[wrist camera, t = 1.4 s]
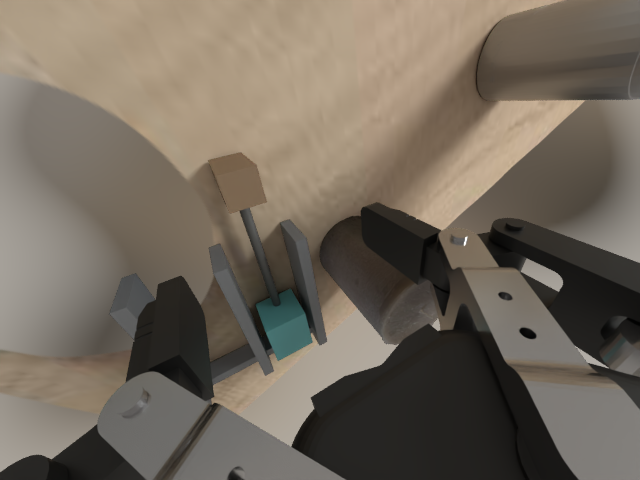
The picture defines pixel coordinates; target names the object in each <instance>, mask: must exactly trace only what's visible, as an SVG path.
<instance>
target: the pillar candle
mask: <svg viewBox="0 0 640 480" xmlns="http://www.w3.org/2000/svg"><path fill="white" fill-rule="evenodd" d="M320 260H321V263H322V266H323V267H324V269H325V270H326V271H327V272H328V273H329V275H330V276H331V277H332V278H333V279H334V281H335V282H336V283H337V284H338V286H339V287H340V288H341V289H342V290H343V292H344V293H345V294H346V295H347V296H348V298H349V299H350V300H351V301H352V302H353V304H354V305H355V306H356V307H357V308H358V310H359V311H360V312H361V313H362V314H363V316H364V317H365V318H366V319H367V320H368V322H369V323H370V324H371V325H372V326H373V327H374V329H375V330H376V331H377V332H378V333H379V335H380V336H381V337H382V340H383V341H384V343H386V344H394V345H397V344H400V343H401V341H402V340H403V339H404V338H406V337H407V336H409V335H411V334H412V333H414V332H415V331H417V330H419V329H420V328H422V327H423V326H425V325H426V324H428V323H429V324H430V325H431V326H432V325H433V323H434V322H435V321H436V320H437V318H438V315H437V311H436V308H435V304H434V301H433V297H432V293H431V290H430V284H431V282H430V281H429V280H427V281H425V282H423V283H421V284H419V285H417V284H416V283H414V282H413V281H412V280H410V279H409V278H408V277H406V276H405V275H404V274H402V273H401V272H400V271H398V270H397V269H396V268H395V267H393V266H392V265H391V264H389V263H388V262H387V261H385V260H384V259H383V258H381V257H380V256H379V255H377V254H376V253H375V252H373V251H372V250H371V249H370V248H368V247H367V246H366V245H365V243H364V241H363V238H362V227H361V217H360V216H352V217H349V218H347V219H345V220H342V221H341V222H339V223H338V224H336V225H335V226H334V227H333V228H332V229H331V230H330V231H329V232H328V234H327V236H326V237H325V238H324V240H323V242H322V245H321V249H320Z"/></svg>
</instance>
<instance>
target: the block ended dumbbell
mask: <svg viewBox="0 0 640 480" xmlns="http://www.w3.org/2000/svg"><path fill="white" fill-rule="evenodd" d="M208 162H209V164H210V167H211V169H212V172H213V174H214V177H215V180H216V182H217V185H218V187H219V190H220V192H221V195H222V197H223V199H224V202H225V204H226V206H227V208H228V211H229V213H230V214H231V213H234V212H237V211H240V214H241V217H242V219H243V222H244V225H245V228H246V231H247V233H248V236H249V239H250V242H251V245H252V247H253V250H254V253H255V256H256V258H257V261H258V264H259V267H260V270H261V272H262V275H263V278H264V281H265V284H266V286H267V289H268V292H269V295H270V297H271V298H268V299H266V300H264V301H262V302H259V303H257V304H256V307H257V310H258V313H259V315H260V318H261V321H262V323H263V326H264V329H265V332H266V334H267V336H268V339H269V341H270V344H271V346H272V348H273V351H274V353H275V355H276V358H277V360H278V361H279V360H281V359H283V358H285V357H286V356H288V355H290V354H292V353H294V352H296V351H297V350H299V349H301V348H303V347H305V346H307V345H309V344H310V343H312V338H311V334H310V330H309V326H308V322H307V319H306V315H305V312H304V310H303V309H302V307H301V305H300V304H299V302H298V300H297V299H296V297H295V295H294V293H293V292H292V290H291V289H288V290H286V291H284V292H282V293H279V294H278V293H277V290H276V287H275V284H274V281H273V277H272V274H271V271H270V268H269V265H268V262H267V259H266V256H265V253H264V250H263V247H262V244H261V241H260V238H259V235H258V232H257V229H256V226H255V223H254V220H253V217H252V214H251V211H250V207H253V206H256V205H259V204H262V203H266V202H267V201H266V197H265V194H264V190H263V187H262V183H261V180H260V176H259V172H258V169H257V165H256V164H254V163H253V162H252V161H251V160H250V159H248V158H247V157H246V156H245V155H243V154H242V153H236V154H232V155H228V156H224V157H220V158H215V159H211V160H208Z"/></svg>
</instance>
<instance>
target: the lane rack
mask: <svg viewBox="0 0 640 480" xmlns="http://www.w3.org/2000/svg"><path fill="white" fill-rule="evenodd" d="M280 225H281V229H282V233H283V236H284V240H285V244H286V248H287V252H288V256H289V259H290V263H291V267H292V271H293V275H294V278H295V282H296V286H297V290H298V294H299V298H300V301H301V305H302V309H303V310H304V312H305V315H306V319H307V322H308V326H309V330H310V334H311V333H313V335H314V336H315V338H316V340H317V342H318V343H319V345H322V344H324V343H325V342H327V338H326V333H325V328H324V323H323V318H322V313H321V308H320V303H319V298H318V293H317V288H316V283H315V278H314V273H313V268H312V263H311V258H310V253H309V248H308V243H307V238H306V237H305V236H304V235H303V234H302V232H301V231H300V230H299V229H298V228H297V227H296V226H295V225H294V224H293V223H292V222H291V221H290V220H286V221H283V222H280ZM209 252H210V258H211V263H212V268H213V274H214V276H215V278H216V280H217V282H218V284H219V286H220V288H221V290H222V291H223V293H224V295H225V297H226V299H227V301H228V303H229V305H230V307H231V309H232V311H233V313H234V315H235V317H236V319H237V321H238V323H239V325H240V327H241V329H242V331H243V333H244V335H245V337H246V339H247V341H248V343H249V344H247V345H245V346H243V347H241V348H239V349H237V350H235V351H233V352H231V353H229V354H227V355H225V356H223V357H221V358H219V359H217V360H215V361H213V362H211V363H210V366H211V375H212V383H213V385H214V384H216V383H218V382H220V381H222V380H224V379H225V378H227V377H229V376H231V375H233V374H235V373H237V372H239V371H241V370H242V369H244V368H246V367H248V366H250V365H252V364H254V363H256V362H259V364H260V366H261V368H262V370H263V372H264V374H265V376H266V375H268V374H270V373H271V372H273V371H274V370H273V367H272V364H271V361H270V358H269V355H271V354H273V353H274V351H273V348H272V346H271V344H270V341H269V339H268V336H267V335H265V336H263V337H262V336H261V334H260V332H259V330H258V327H257V325H256V323H255V321H254V318H253V316H252V314H251V312H250V309H249V307H248V305H247V303H246V301H245V298H244V296H243V294H242V292H241V289H240V287H239V285H238V283H237V280H236V278H235V276H234V274H233V271H232V269H231V267H230V265H229V263H228V260H227V258H226V256H225V254H224V251H223V249H222V247H221V245H220V244H218V245H215V246H212V247H209ZM154 300H155V298H154V297H153V296H152V294H151V293H150V292H149V290H148V289H147V288H146V286H145V285H144V284H143V282H142V281H141V280H140V278H139V277H138V276H137V274H136V273H135V274H132V275H129V276H127V277H124V278H122V279H121V281H120V285H119V287H118V290H117V293H116V296H115V299H114V302H113V305H112V307H111V310H110V313H109V314H110V315H111V316H112V317H113V319H115V321H116V322H117V323H119V325H120V326H121V327H122V328H123V329H124V330H125V331H126V332H127V333H128V334H129V335H130V336H131V337H132V339H133V340H134V337H135V331H137V330H136V326H137V321H138V316H139V315H140V313H141V312H142V310H143V309H144V307H145V306H146V304H147V303H149V302H152V301H154ZM134 341H135V340H134ZM206 402H207V403H209V404H211V405H212V403H211V399H209V400H207V401H206Z"/></svg>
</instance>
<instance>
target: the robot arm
mask: <svg viewBox="0 0 640 480" xmlns="http://www.w3.org/2000/svg"><path fill="white" fill-rule="evenodd" d="M477 86H478V90H479V93H480V95H481V96H482V98H483V99H485V100H488V101H535V100H631V99H632V100H633V99H640V0H565V1H561V2H557V3H553V4H550V5H545V6H542V7H538V8H534V9H531V10H527V11H523V12H519V13H516V14H512V15H509V16H507V17H505V18H503V19H502V20H501V21H500V22H499V23H498V24H497V25H496V26H495V28H494V29H493V30H492V32H491V33H490V35H489V37H488V39H487V41H486V43H485V45H484V47H483V50H482V53H481V56H480V60H479V64H478V70H477ZM361 227H362V238H363V241H364V243H365V245H366V246H367V247H368V248H370V249H371V250H372V251H373V252H375V253H376V254H377V255H379V256H380V257H381V258H383V259H384V260H385V261H387V262H388V263H389V264H391V265H392V266H393V267H395V268H396V269H397V270H398V271H400V272H401V273H402V274H404V275H405V276H406V277H408V278H409V279H410V280H412V281H413V282H414V283H416V284H417V285H419V284H421V283H423V282H425V281H427V280H429V281H430V282H431V284H430V290H431V293H432V297H433V301H434V304H435V308H436V311H437V315H438V319H439V322H440V331H437V330H436V329H434V328H433V327H432V326H431V325H430V324H429V323H428V324H426V325H425V326H423V327H422V328H420V329H419V330H417V331H415V332H414V333H412V334H411V335H409V336H407V337H406V338H404V339H403V340H402V341H401V343H400V344H399V345H398V346H397V347H396V349H395V350H394V351H393V352H392V353H391V355H390V356H389V357H388V358H387V359H386V361H385V362H384V363H383V364H382V365H380V366H377V367H374V368H371V369H368V370H364V371H361V372H358V373H354V374H351V375H348V376H344V377H343V378H341V379H339V380H338V381H336V382H335V383H333V384H332V385H330V386H328V387H327V388H325V389H324V390H322V391H320V392H319V393H317V394H316V395H314V396H313V397H311V400H312V402H313V406H314V410H313V411H312V412H311V413H310V415H309V416H308V417H307V419H306V420H305V422H304V423H303V424H302V426H301V428H300V429H299V431H298V433H297V435H296V437H295V439H294V441H293V444H292V446H291V447H290V446H289V445H287V444H285V443H284V442H282V441H280V440H279V439H277V438H275V437H274V436H272V435H270V434H269V433H267V432H265V431H263V430H262V429H260V428H259V427H257V426H255V425H254V424H252V423H250V422H248V421H247V420H245V419H243V418H242V417H240V416H239V415H237V414H235V413H234V412H232V411H230V410H229V409H227V408H225V407H224V406H222V405H220V404H217V403H214V404H213V405H211V404H209V403H207V402H206V401H207V400H209V399H211V398H213V397H214V392H213V383H212V375H211V366H210V357H209V349H208V340H207V332H206V323H205V317H204V313H203V310H202V308H201V305H200V304H199V302H198V301H197V299H196V297H195V295H194V294H193V292H192V291H191V289H190V288H189V285H188V284H187V282H186V281H185V279H184V278H183V277H182V276H179V277H176V278H174V279H171V280H168V281H165V282H163V283H160V284H158V289H157V297H156V300H154V301H152V302H149V303H147V304H146V306H145V307H144V309H143V310H142V312H141V313H140V315H139V316H138V321H137V326H136V330H137V331H135V337H134V340H135V342H133V347H132V352H131V357H130V362H129V367H128V373H127V378H126V383H125V384H123V385H122V386H121V387H120V388H119V389H118V390H117V391H116V392H115V393H114V394H113V395H112V396H111V397H110V399H109V400H108V401H107V403H106V404H105V406H104V407H103V409H102V411H101V413H100V416H99V419H98V424H97V425H96V426H94V427H93V428H92V429H91V430H90V431H88V432H87V433H86V434H84V435H83V436H82V437H80V438H79V439H78V440H76V441H75V442H74V443H73V444H71V445H70V446H69V447H67V448H66V449H65V450H63V451H62V452H61V453H60V454H59V455H57V456H56V457H54V458H53V459H49V458H47V457H45V456H42V455H32V456H29V457H26V458H23V459H21V460H19V461H17V462H15V463H14V464H12V465H10V466H9V467H7V468H6V469H5V470H3V471H2V472H0V480H640V263H638V262H635V261H633V260H630V259H627V258H624V257H622V256H619V255H616V254H614V253H611V252H608V251H605V250H603V249H600V248H597V247H595V246H592V245H589V244H586V243H584V242H581V241H578V240H575V239H573V238H570V237H567V236H565V235H562V234H559V233H556V232H554V231H551V230H548V229H546V228H543V227H540V226H537V225H535V224H532V223H529V222H527V221H523V220H520V219H514V218H502V219H498V220H495V221H494V222H493V224H492V227H491V230H490V232H488V233H482V234H475V233H473V232H472V231H469V230H466V229H462V228H448V229H445V230H442V231H441V230H439V229H437V228H435V227H433V226H431V225H429V224H427V223H425V222H423V221H421V220H419V219H417V220H416V218H414V217H412V216H409V215H408V214H406V213H404V212H402V211H400V210H395V209H390V208H388V207H386V206H384V205H382V204H380V203H377V202H376V203H373V204H371V205H368V206H365V207H363V208H362V209H361ZM526 258H528V259H530V260H532V261H534V262H536V263H538V264H540V265H543V266H545V267H546V268H549V269H551V270H553V271H555V272H556V273H558V274H559V275H560V276H561V277H562V279H563V286H562V288H561V289H560V291H559V292H558V291H556V290H554V289H552V288H550V287H548V286H546V285H544V284H542V283H541V282H539V281H537V280H535V279H533V278H531V277H529V276H527V275H525V274H524V273H522V272H521V269H522V267H523V265H524V263H525V260H526ZM574 345H575V346H576V347H578V348H579V349H581V350H582V351H584V352H586V353H588V354H589V355H590V356H592V357H593V358H595V359H596V360H598V361H599V362H601V363H602V364H604V365H606V366H607V367H609V369H608V368H605V367H601V366H597V365H594V364H590V363H587V362H586V360H585V359H584V358H583V356H582V355H581V354H580V352H579V351H578V350H577V348H576V347H575V346H574Z"/></svg>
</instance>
